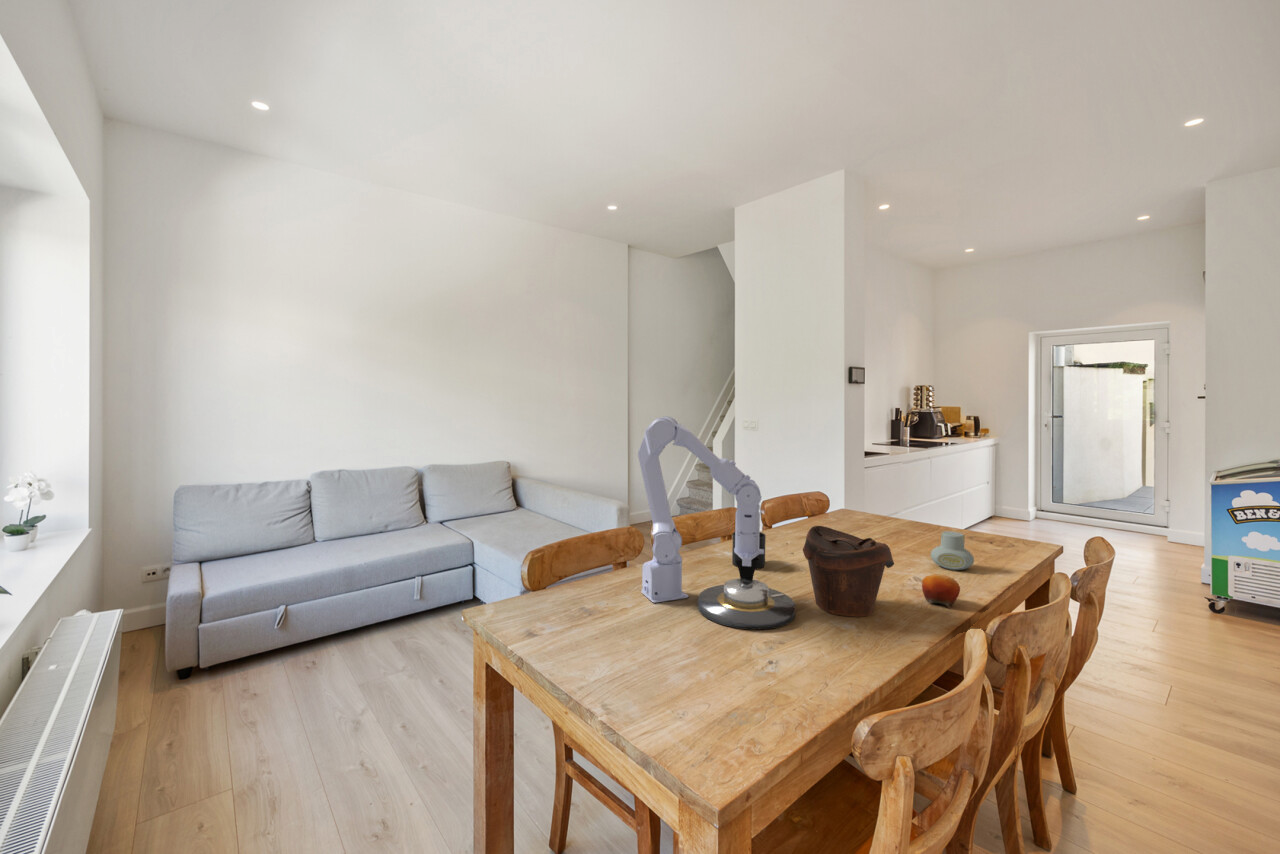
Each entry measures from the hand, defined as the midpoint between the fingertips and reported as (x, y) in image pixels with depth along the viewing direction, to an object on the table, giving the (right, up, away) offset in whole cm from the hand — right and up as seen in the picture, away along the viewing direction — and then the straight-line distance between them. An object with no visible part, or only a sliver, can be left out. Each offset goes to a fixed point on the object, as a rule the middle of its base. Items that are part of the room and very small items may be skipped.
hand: (746, 586), depth 130 cm
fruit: (+47, -4, 0) cm, 47 cm away
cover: (-1, -2, -6) cm, 6 cm away
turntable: (-1, -4, -5) cm, 7 cm away
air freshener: (+65, -3, +27) cm, 71 cm away
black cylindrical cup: (+7, -2, +29) cm, 30 cm away
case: (+23, -4, -3) cm, 23 cm away
